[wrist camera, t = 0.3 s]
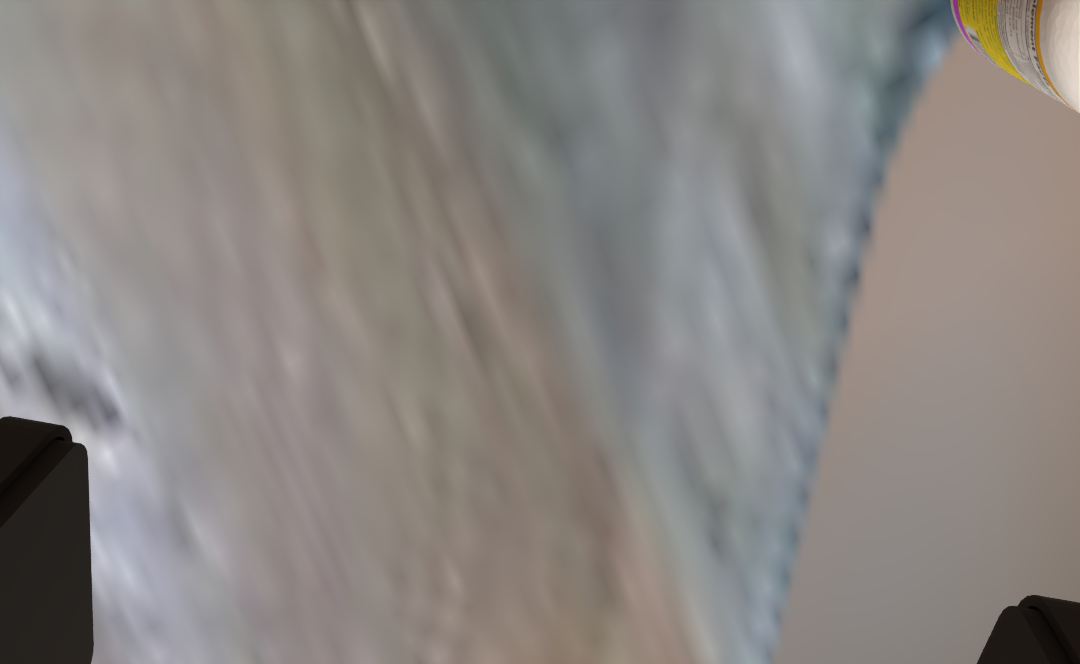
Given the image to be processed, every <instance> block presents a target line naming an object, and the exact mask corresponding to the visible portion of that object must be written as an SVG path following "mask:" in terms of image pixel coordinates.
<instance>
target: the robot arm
mask: <svg viewBox="0 0 1080 664" xmlns="http://www.w3.org/2000/svg"><path fill="white" fill-rule="evenodd" d="M93 646H94V642H93V610H92V577H91V545H90V512H89V480H88V456H87V450H86V448H85V446H84V445H82V444H80V443H74V442H73V441H72V435H71V433H70V431H69V429H68V428H66V427H65V426H63V425H57V424H51V423H45V422H40V421H34V420H28V419H22V418H17V417H11V416H9V417H3V418H1V419H0V664H91V661H92V656H93ZM977 664H1080V603H1078V602H1072V601H1067V600H1061V599H1055V598H1049V597H1043V596H1038V595H1031V596H1027V597H1026V598H1024V599H1023V600H1022V601H1021V602H1020V603H1019V605H1018V606H1008V607H1007V608H1006V609H1004V610H1003V611H1002V613H1001V615H1000V616H999V618H998V620H997V622H996V624H995V626H994V629H993V631H992V633H991V635H990V637H989V639H988V641H987V643H986V645H985V647H984V649H983V652H982V654H981V656H980V658H979V660H978V662H977Z"/></svg>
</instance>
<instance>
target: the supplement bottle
mask: <svg viewBox="0 0 1080 664" xmlns="http://www.w3.org/2000/svg"><path fill="white" fill-rule="evenodd" d="M950 3H951V8H952V13H953V16H954V19H955V22H956V24H957V26H958V28H959V30H960V32H961V34H962V35H963V37H964V38H965V40H966V41H967V42H968V43H969V44H970V46H971V47H972V48H973V49H975V51H976V52H978V53H979V54H980V55H981V56H983V57H984V58H985V59H987V60H988V61H990V62H991V63H993V64H994V65H996V66H998V67H1000V68H1001V69H1003V70H1005V71H1007V72H1008V73H1010V74H1012V75H1014V76H1015V77H1017V78H1019V79H1021V80H1023V81H1024V82H1026V83H1028V84H1030V85H1031V86H1033V87H1035V88H1037V89H1038V90H1040V91H1042V92H1044V93H1046V94H1047V95H1049V96H1051V97H1053V98H1054V99H1056V100H1058V101H1060V102H1061V103H1063V104H1065V105H1066V106H1068V107H1070V108H1072V109H1073V110H1075V111H1077V112H1078V113H1080V0H950Z"/></svg>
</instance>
